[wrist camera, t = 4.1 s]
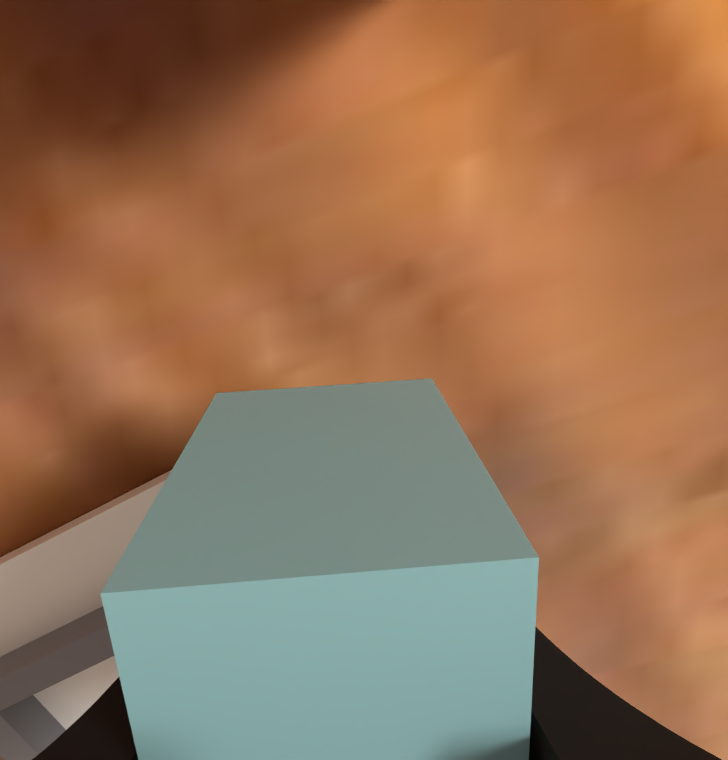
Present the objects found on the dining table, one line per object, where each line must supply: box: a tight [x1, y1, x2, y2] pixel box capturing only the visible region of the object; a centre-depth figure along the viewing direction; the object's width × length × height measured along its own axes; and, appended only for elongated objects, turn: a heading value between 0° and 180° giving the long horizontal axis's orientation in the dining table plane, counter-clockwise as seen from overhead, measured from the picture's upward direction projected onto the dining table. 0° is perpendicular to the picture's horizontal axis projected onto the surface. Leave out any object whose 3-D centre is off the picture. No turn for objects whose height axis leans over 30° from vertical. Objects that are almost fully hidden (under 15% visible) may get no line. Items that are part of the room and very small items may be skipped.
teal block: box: [100, 379, 539, 760], centre depth 11 cm, size 9×5×7 cm, turn 3°
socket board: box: [0, 470, 172, 760], centre depth 22 cm, size 16×16×2 cm
